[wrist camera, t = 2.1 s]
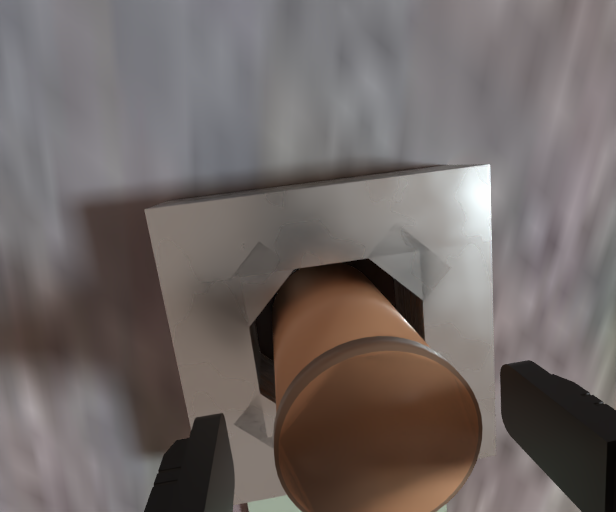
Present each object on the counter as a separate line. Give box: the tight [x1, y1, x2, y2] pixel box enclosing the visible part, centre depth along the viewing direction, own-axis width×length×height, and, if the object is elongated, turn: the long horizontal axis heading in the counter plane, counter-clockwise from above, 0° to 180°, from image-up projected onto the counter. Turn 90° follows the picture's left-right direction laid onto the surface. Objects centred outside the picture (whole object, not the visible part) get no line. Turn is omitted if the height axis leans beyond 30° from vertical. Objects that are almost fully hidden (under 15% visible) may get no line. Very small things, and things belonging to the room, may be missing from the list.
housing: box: [144, 164, 496, 505], centre depth 17 cm, size 12×12×4 cm
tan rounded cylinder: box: [272, 262, 483, 512], centre depth 14 cm, size 5×5×9 cm
